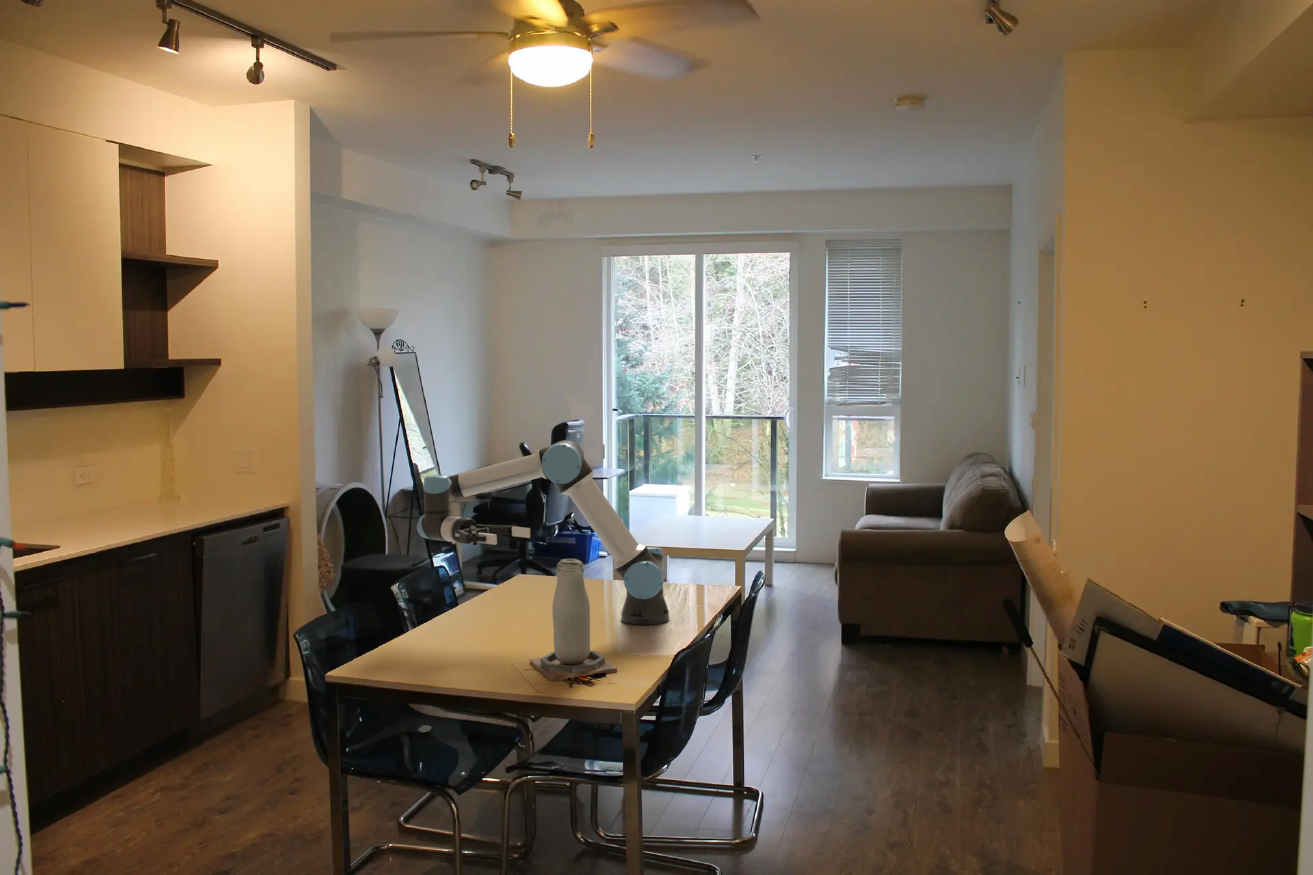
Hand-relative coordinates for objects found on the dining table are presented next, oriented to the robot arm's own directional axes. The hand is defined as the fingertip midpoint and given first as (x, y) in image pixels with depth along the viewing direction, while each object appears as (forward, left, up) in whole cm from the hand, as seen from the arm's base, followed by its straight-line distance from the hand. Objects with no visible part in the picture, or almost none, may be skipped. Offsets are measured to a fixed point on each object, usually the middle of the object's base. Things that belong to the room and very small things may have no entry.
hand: (513, 536), depth 277 cm
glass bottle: (-8, +25, -31) cm, 41 cm away
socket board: (-8, +25, -32) cm, 42 cm away
